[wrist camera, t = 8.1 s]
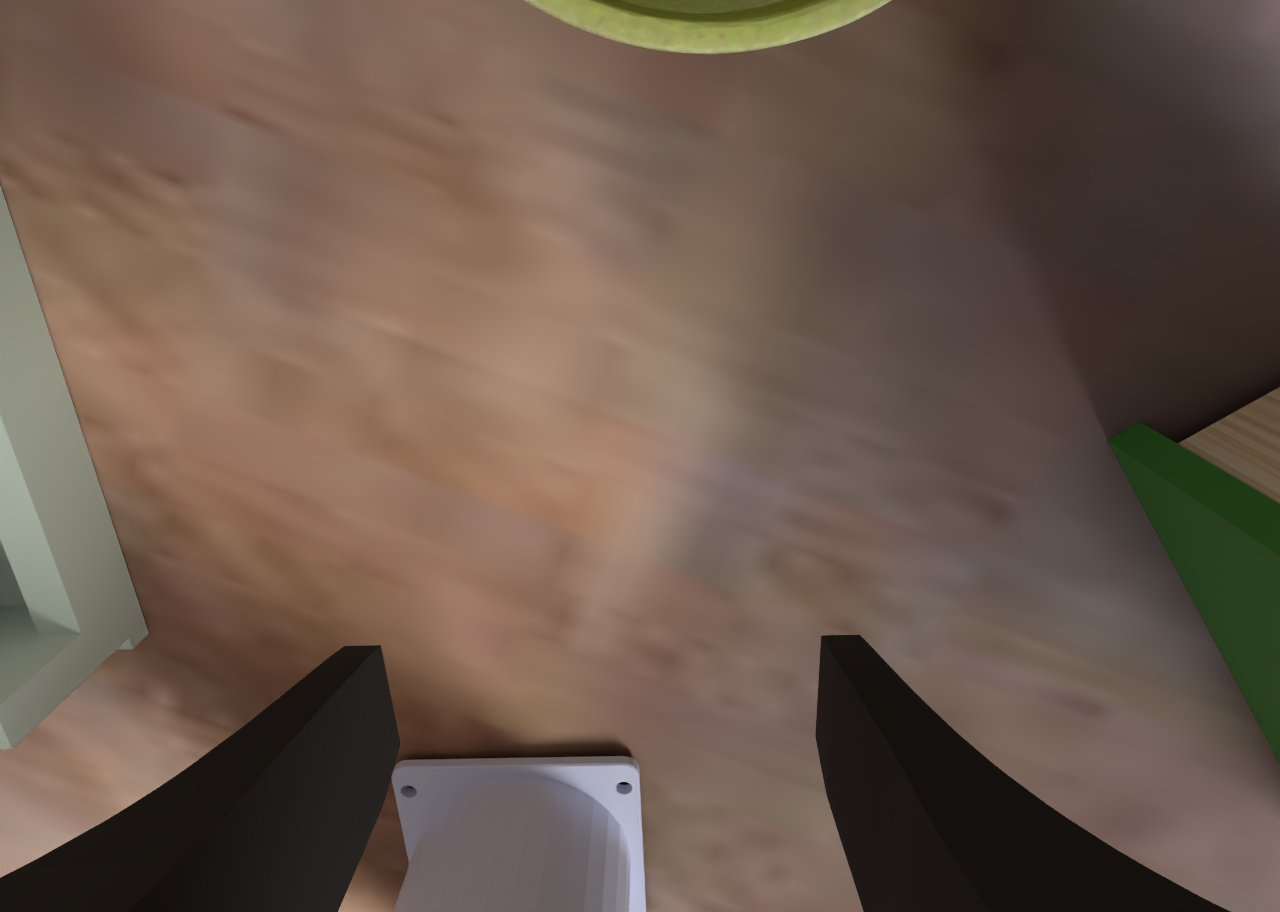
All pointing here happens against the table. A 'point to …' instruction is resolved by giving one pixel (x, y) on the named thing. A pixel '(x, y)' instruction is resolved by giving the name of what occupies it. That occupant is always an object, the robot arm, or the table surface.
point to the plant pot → (707, 21)
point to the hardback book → (1223, 535)
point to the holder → (49, 523)
